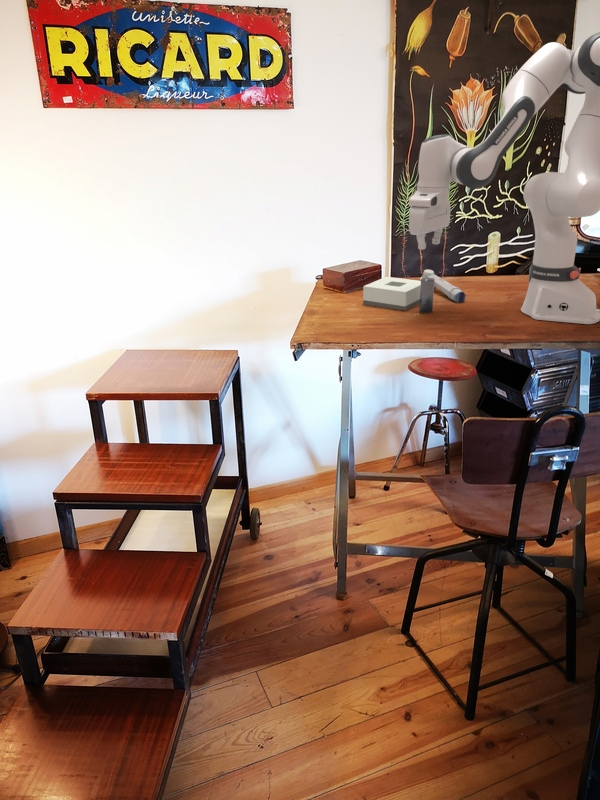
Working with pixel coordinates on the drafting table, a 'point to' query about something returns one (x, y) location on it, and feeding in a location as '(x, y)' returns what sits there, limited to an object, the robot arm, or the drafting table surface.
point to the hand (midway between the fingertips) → (429, 246)
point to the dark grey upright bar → (426, 295)
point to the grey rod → (445, 287)
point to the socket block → (392, 293)
